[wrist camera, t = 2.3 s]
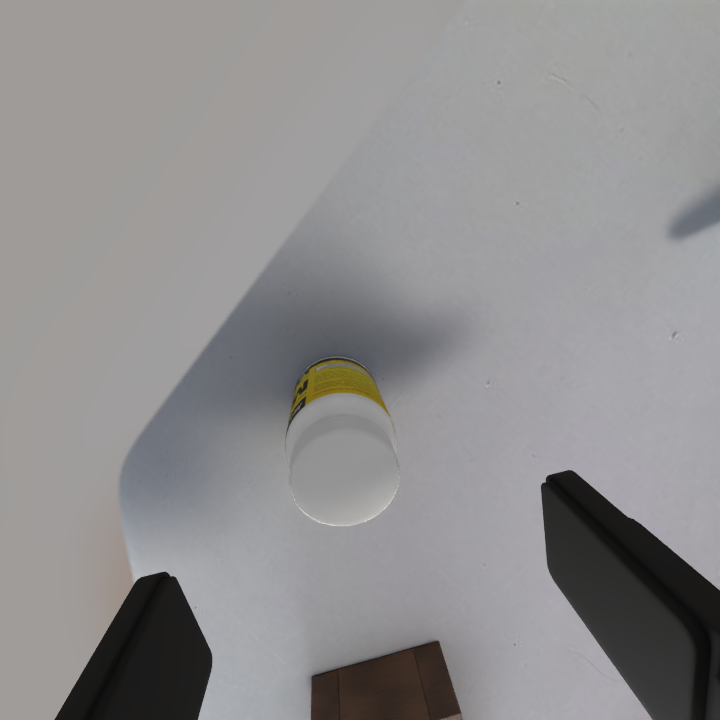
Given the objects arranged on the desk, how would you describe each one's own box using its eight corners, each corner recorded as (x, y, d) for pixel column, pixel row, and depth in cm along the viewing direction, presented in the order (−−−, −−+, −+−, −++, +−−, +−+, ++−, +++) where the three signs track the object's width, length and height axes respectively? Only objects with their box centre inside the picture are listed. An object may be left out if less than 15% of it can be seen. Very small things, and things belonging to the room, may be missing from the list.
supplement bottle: (294, 353, 20) (277, 417, 12) (378, 355, 20) (418, 418, 12) (293, 432, 21) (278, 539, 13) (373, 432, 22) (405, 534, 13)
